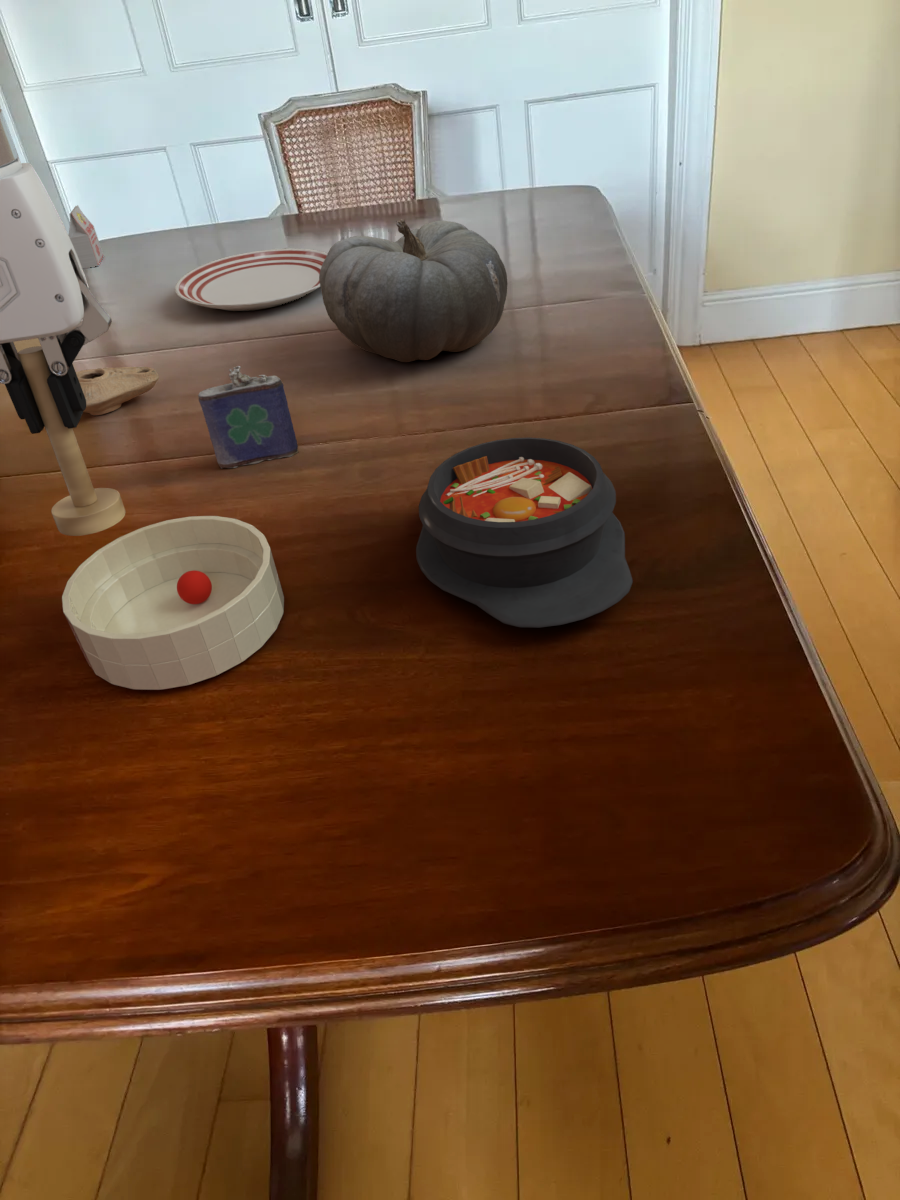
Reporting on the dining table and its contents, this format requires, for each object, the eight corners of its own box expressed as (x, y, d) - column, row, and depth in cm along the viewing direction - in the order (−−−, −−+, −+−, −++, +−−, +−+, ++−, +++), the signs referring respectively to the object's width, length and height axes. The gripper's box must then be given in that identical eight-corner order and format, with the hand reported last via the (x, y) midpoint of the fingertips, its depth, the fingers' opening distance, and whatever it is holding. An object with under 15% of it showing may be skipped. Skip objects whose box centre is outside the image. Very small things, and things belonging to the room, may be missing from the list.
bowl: (69, 711, 71) (39, 654, 68) (107, 585, 85) (84, 533, 81) (283, 675, 72) (266, 617, 68) (287, 556, 85) (272, 502, 82)
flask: (218, 471, 101) (192, 382, 94) (218, 459, 103) (192, 371, 97) (300, 455, 102) (279, 366, 95) (298, 444, 104) (277, 356, 98)
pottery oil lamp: (167, 403, 116) (131, 369, 110) (91, 445, 118) (52, 414, 112) (159, 359, 121) (124, 323, 115) (85, 400, 123) (48, 367, 117)
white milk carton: (79, 269, 174) (60, 215, 168) (85, 259, 179) (67, 206, 173) (98, 266, 174) (79, 212, 168) (104, 256, 179) (86, 203, 173)
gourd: (285, 338, 124) (282, 204, 114) (415, 310, 139) (422, 189, 129) (409, 397, 110) (418, 251, 100) (538, 358, 126) (556, 228, 116)
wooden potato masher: (46, 538, 69) (-23, 364, 61) (74, 507, 73) (13, 342, 66) (110, 534, 68) (49, 358, 61) (135, 503, 72) (80, 335, 65)
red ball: (172, 605, 80) (167, 578, 78) (192, 587, 82) (187, 560, 80) (201, 614, 79) (196, 586, 77) (220, 595, 81) (216, 568, 79)
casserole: (383, 520, 89) (369, 445, 84) (554, 471, 93) (550, 396, 87) (475, 673, 69) (465, 587, 64) (685, 603, 73) (691, 517, 68)
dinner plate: (361, 261, 158) (358, 241, 156) (316, 319, 137) (312, 297, 135) (217, 269, 163) (212, 250, 161) (152, 326, 142) (146, 306, 140)
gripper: (-208, 183, 52) (-66, 462, 63) (66, 148, 53) (158, 430, 64) (-155, 157, 58) (-34, 416, 69) (90, 125, 59) (171, 387, 70)
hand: (57, 421), depth 66 cm, fingers closed on wooden potato masher
